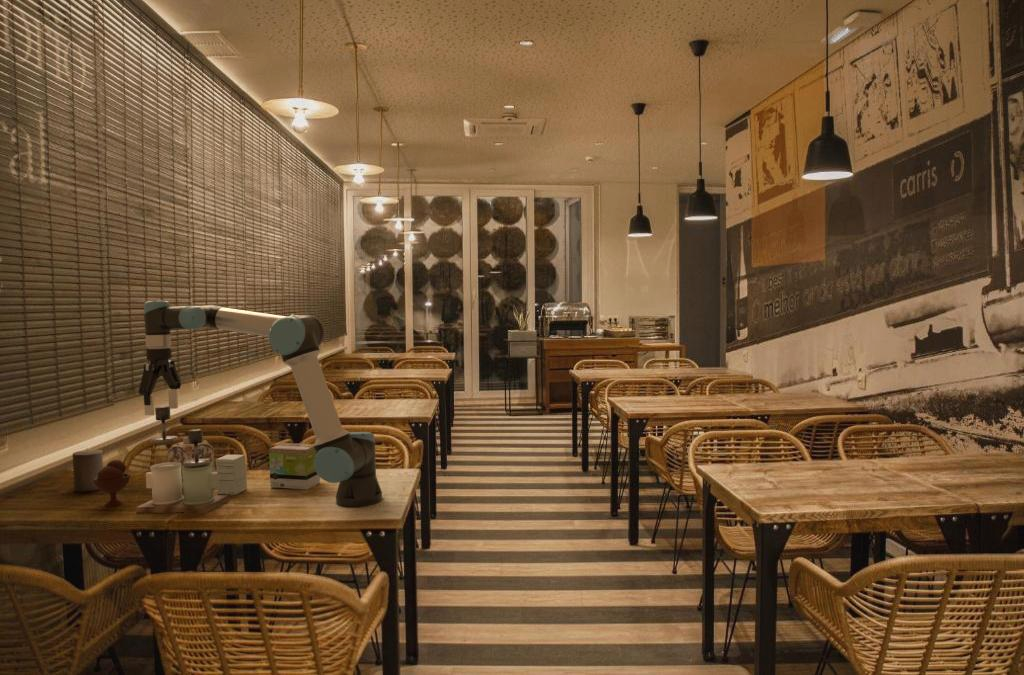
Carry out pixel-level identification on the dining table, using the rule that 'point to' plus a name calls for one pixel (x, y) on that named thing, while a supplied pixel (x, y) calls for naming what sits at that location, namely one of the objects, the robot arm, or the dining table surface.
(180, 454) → the decorative jar
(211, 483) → the sage press body
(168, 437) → the cream press plunger
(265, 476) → the dining table surface
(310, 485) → the tea box
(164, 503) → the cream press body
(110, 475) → the ice cream bowl
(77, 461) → the pillar candle
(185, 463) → the sage plunger
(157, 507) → the walnut board
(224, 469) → the supplement box
